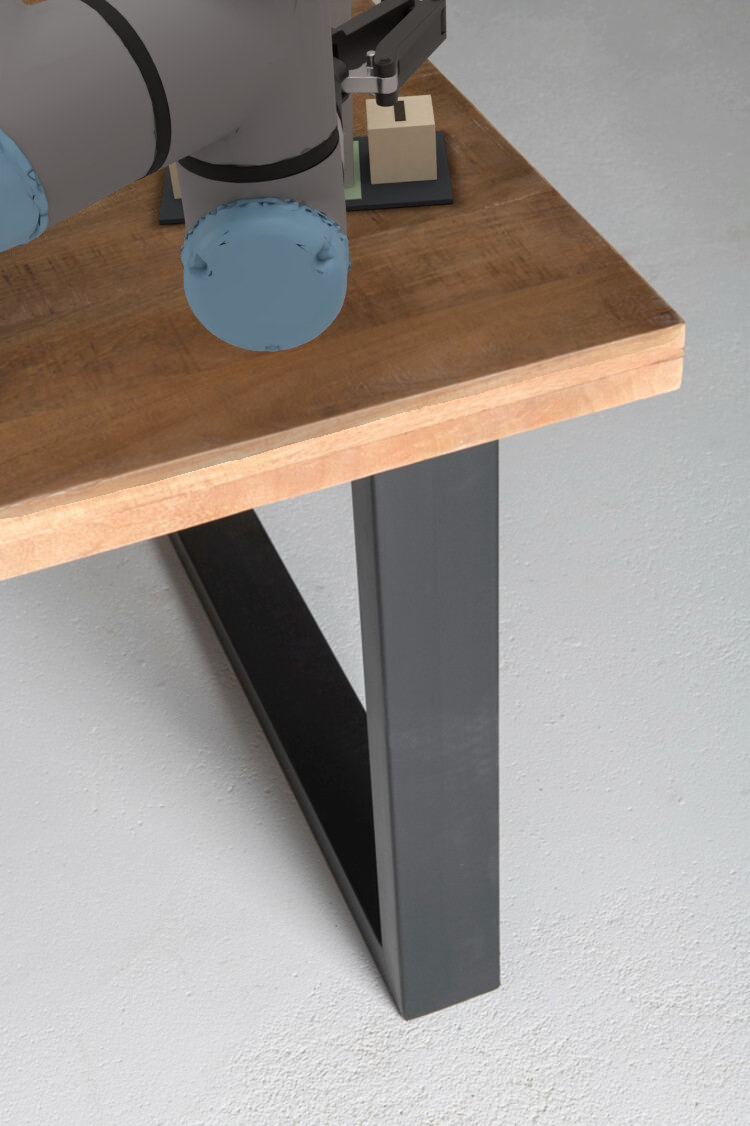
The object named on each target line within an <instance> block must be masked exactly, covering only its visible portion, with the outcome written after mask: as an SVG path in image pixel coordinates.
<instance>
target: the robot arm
mask: <svg viewBox="0 0 750 1126" xmlns="http://www.w3.org/2000/svg"><path fill="white" fill-rule="evenodd" d="M447 32H448V31H447V0H380V2H379V3H377V4H375V5H373V6H371V7H370V8H368V9H366V10H365V11H363V12H360V13H359V14H357V15H356V16H354V17H351V19H350V20H349V21H347V22H345V23H343V24H342V25H340V26H338V27H336V28H333V27H331V22H330V2H329V0H44V1H43V0H42V1H40V2H37V3H35V4H30V5H29V4H26V3H24V1H23V0H0V254H1V253H3V252H6V251H8V250H10V249H13V248H16V247H21V246H22V247H23V246H25V245H27V244H28V243H30V242H31V241H33V240H35V239H37V238H39V237H40V236H41V235H42V234H43V233H45V231H47V230H48V229H50V228H52V227H55V226H56V225H58V224H60V223H62V222H63V221H65V220H67V219H68V218H70V217H72V216H74V215H76V214H78V213H79V212H81V211H84V210H85V209H87V208H89V207H91V206H92V205H94V204H96V203H98V202H99V201H102V200H103V199H105V198H107V197H109V196H110V195H112V194H114V193H116V192H117V191H120V190H121V189H123V188H125V187H127V186H129V185H131V184H132V183H134V182H137V181H139V180H142V179H145V178H147V177H148V176H150V175H153V174H154V173H156V172H158V171H160V170H163V169H164V168H167V166H168V165H170V164H172V163H174V162H176V168H177V174H178V180H179V186H180V192H181V198H182V204H183V210H184V217H185V223H184V226H185V235H184V238H183V239H184V243H183V244H182V245H181V246H180V259H181V260H180V261H181V265H182V270H183V287H184V294H185V298H186V301H187V303H188V306H189V308H190V310H191V312H192V313H193V315H194V316H195V317H196V319H197V320H198V321H199V322H200V324H201V325H202V326H203V327H204V328H205V329H206V330H207V331H208V332H209V333H211V334H212V335H213V336H214V337H216V338H218V339H219V340H221V341H222V342H225V343H227V344H228V345H230V346H233V347H236V348H239V349H242V350H247V351H253V352H272V353H274V352H279V351H287V350H292V349H295V348H298V347H300V346H303V345H305V344H307V343H310V342H311V341H313V340H314V339H316V338H317V337H319V336H320V335H321V334H322V333H323V332H324V331H326V330H327V329H328V328H329V327H330V326H331V325H332V324H333V322H335V320H336V318H337V317H338V315H339V313H340V312H341V310H342V307H343V306H344V303H345V299H346V295H347V290H348V289H347V288H348V274H349V273H350V272H351V268H352V259H351V255H350V244H349V239H348V224H347V223H348V222H347V211H346V205H345V194H344V144H343V120H342V104H343V103H344V102H345V101H346V100H347V99H348V97H349V95H350V93H352V94H368V95H369V96H371V97H375V99H376V104H377V105H378V106H381V107H390V106H394V105H395V104H397V102H398V97H399V95H400V88H401V87H402V86H403V85H404V84H405V83H406V82H407V81H408V80H409V79H410V78H411V77H412V76H413V75H414V74H415V72H416V71H417V70H418V69H420V68H421V66H422V65H423V64H424V63H425V62H426V61H427V60H428V59H429V58H430V57H431V56H432V54H433V53H435V51H436V50H437V49H438V48H439V47H440V46H441V45H442V44H443V43H444V42H445V41H446V40H447V38H448V37H447Z"/></svg>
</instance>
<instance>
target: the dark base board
mask: <svg viewBox="0 0 750 1126" xmlns="http://www.w3.org/2000/svg"><path fill="white" fill-rule="evenodd" d="M365 115H366V127H367V128H366V130H367V135H365V136H355V137H354V136H353V154H354V183H355V185H354V186H353V187H348V188H344V194H345V205H346V212H350V211H351V212H352V211H366V210H379V209H380V210H381V209H390V208H392V209H393V208H406V207H419V206H420V207H421V206H434V205H445V204H446V205H448V204H453V203H454V196H453V190H452V189H453V188H452V183H451V176H450V169H449V163H448V157H447V150H446V143H445V142H446V141H445V137H444V136H445V135H444V131H443V130H436V121H435V114H434V107H433V99H432V95H431V94H422V95H407V96H398V102H397V104H395V105H394V106H390V107H381V106H378V105H377V104H376V98H366V99H365ZM158 217H159V218H158V223H159V225H171V224H185V217H184V210H183V204H182V198H181V192H180V186H179V180H178V174H177V168H176V162H174V163H172V164H170V165H168V166H166V170H165V176H164V183H163V190H162V196H161V203H160V210H159V215H158Z"/></svg>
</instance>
